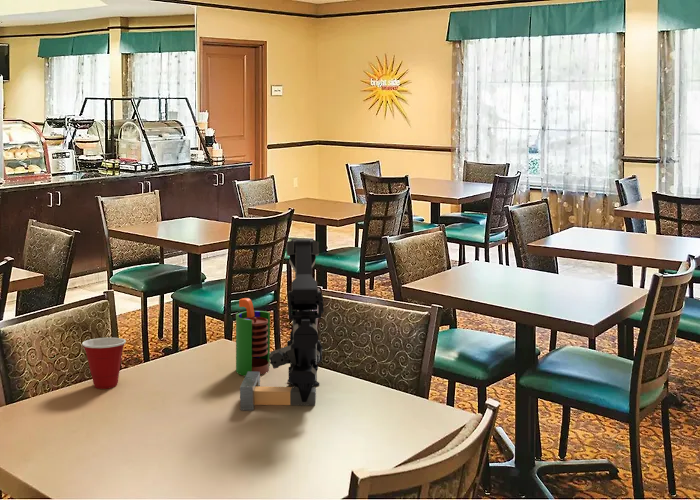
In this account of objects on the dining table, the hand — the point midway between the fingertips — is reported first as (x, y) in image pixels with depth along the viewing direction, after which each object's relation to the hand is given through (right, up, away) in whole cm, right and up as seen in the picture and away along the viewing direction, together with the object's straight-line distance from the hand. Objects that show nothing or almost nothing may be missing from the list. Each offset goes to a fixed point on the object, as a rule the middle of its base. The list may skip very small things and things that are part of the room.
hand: (304, 399), depth 192 cm
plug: (-5, -1, 0) cm, 5 cm away
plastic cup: (-52, +1, +12) cm, 53 cm away
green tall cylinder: (-16, +3, +24) cm, 29 cm away
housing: (-13, -1, +1) cm, 13 cm away
